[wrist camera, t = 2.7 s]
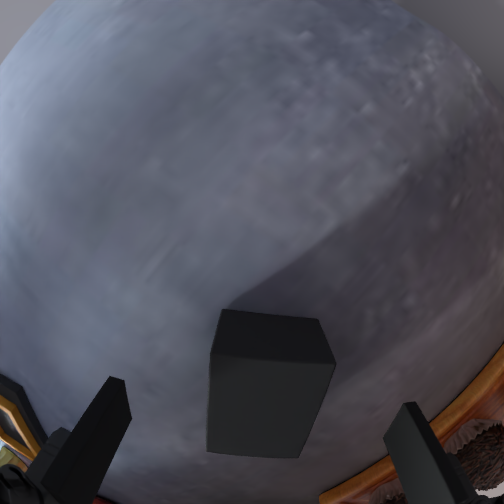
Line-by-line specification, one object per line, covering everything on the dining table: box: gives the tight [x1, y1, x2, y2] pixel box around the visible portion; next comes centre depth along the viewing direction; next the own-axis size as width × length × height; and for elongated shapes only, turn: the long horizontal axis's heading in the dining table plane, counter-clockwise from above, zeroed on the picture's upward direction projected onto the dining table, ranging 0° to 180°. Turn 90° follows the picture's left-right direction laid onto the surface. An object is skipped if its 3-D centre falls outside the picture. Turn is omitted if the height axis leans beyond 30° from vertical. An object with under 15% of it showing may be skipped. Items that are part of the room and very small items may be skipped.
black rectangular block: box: [206, 309, 336, 458], centre depth 13 cm, size 7×5×4 cm
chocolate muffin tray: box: [319, 344, 504, 504], centre depth 13 cm, size 28×17×8 cm, turn 141°
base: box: [0, 374, 48, 461], centre depth 17 cm, size 16×12×2 cm
